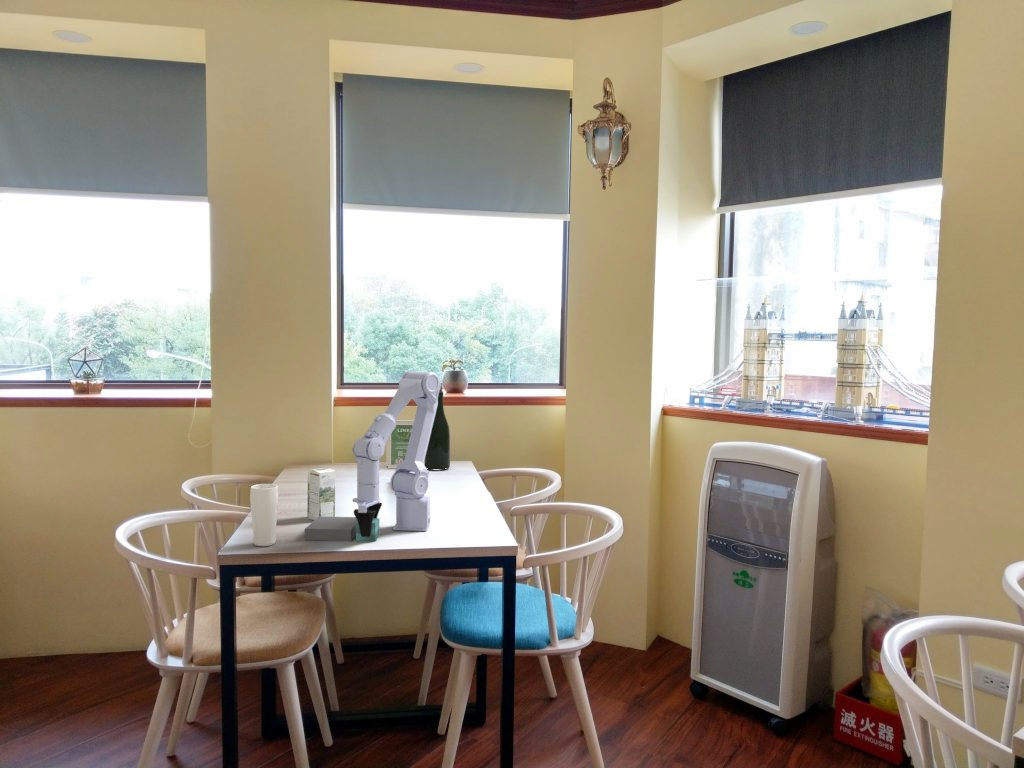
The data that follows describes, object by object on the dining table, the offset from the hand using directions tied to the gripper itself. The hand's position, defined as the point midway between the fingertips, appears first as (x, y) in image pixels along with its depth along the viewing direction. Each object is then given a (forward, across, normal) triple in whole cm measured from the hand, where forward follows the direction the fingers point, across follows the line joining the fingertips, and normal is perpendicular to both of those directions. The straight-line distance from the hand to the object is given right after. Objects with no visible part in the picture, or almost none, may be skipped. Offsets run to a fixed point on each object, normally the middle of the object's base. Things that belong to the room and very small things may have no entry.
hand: (368, 533), depth 190 cm
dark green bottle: (+2, -103, +6) cm, 103 cm away
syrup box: (+2, -20, -18) cm, 27 cm away
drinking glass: (+2, +7, -25) cm, 26 cm away
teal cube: (+2, 0, 0) cm, 2 cm away
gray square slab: (+1, -4, -10) cm, 11 cm away
